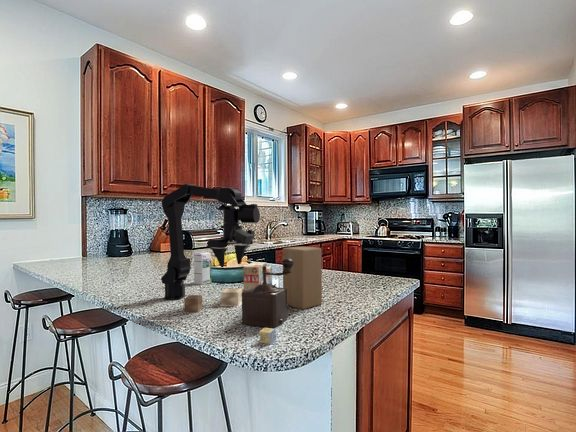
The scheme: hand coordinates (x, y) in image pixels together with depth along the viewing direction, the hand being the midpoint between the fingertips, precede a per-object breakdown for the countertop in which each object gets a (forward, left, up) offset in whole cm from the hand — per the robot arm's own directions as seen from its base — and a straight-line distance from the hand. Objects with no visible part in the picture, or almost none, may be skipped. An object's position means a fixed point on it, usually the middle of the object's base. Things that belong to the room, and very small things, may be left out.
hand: (230, 265), depth 123 cm
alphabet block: (+19, -37, -14) cm, 44 cm away
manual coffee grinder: (+17, -19, -14) cm, 29 cm away
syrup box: (-23, +35, -14) cm, 44 cm away
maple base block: (+1, -3, -13) cm, 13 cm away
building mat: (0, -4, -13) cm, 14 cm away
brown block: (-9, -13, -14) cm, 21 cm away
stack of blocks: (+7, +18, -14) cm, 24 cm away
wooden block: (+26, -1, -14) cm, 29 cm away
